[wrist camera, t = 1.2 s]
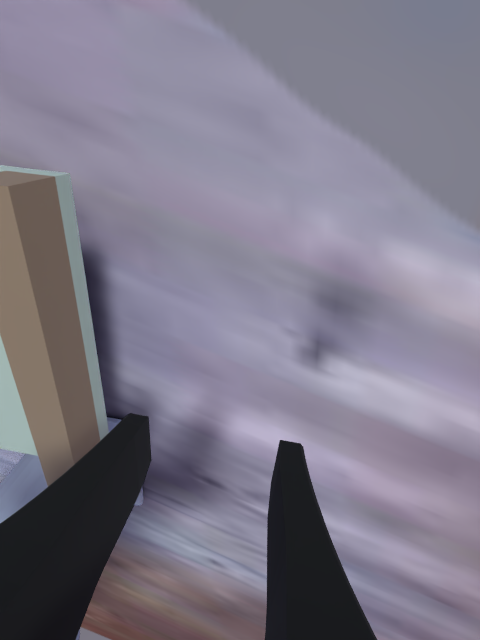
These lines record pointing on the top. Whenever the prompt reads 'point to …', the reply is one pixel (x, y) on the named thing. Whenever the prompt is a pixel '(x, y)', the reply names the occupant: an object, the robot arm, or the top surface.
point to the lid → (45, 325)
